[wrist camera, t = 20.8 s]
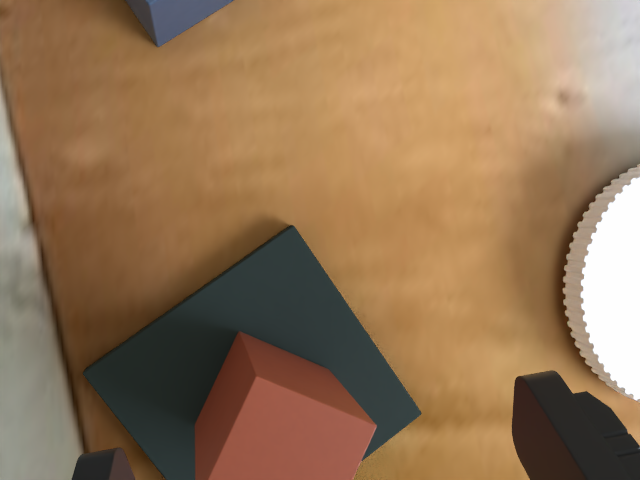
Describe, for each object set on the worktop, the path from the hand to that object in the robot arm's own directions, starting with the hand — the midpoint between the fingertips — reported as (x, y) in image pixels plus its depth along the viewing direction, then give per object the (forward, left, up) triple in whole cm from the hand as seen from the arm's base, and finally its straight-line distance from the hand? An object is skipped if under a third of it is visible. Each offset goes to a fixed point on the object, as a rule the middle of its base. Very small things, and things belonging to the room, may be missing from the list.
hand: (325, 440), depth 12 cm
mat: (-2, -4, -18) cm, 19 cm away
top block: (-2, -4, -17) cm, 18 cm away
